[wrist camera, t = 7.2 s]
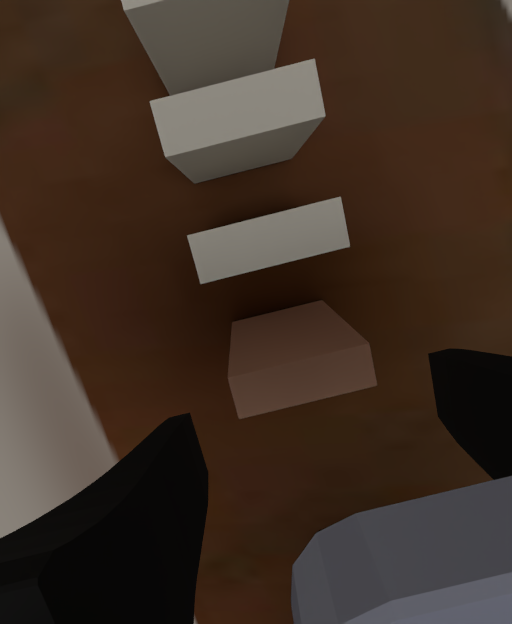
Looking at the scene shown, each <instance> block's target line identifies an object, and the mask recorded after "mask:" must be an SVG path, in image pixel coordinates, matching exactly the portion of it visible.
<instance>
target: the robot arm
mask: <svg viewBox="0 0 512 624" xmlns="http://www.w3.org/2000/svg"><path fill="white" fill-rule="evenodd" d="M428 355H429V362H430V368H431V375H432V381H433V387H434V394H435V400H436V406H437V413H438V417H439V418H440V420H441V421H442V423H443V424H444V425H445V427H446V428H447V430H448V431H449V432H450V434H451V435H452V436H453V438H454V439H455V440H456V442H457V443H458V444H459V445H460V446H461V447H462V448H463V449H464V450H465V451H466V452H467V453H468V454H469V455H470V456H471V457H472V458H473V459H474V460H475V461H476V462H477V463H478V464H479V465H480V466H481V467H482V468H483V469H484V470H485V471H486V472H487V473H488V474H489V475H490V476H491V477H492V478H493V479H494V480H492V481H488V482H484V483H480V484H476V485H472V486H467V487H463V488H459V489H455V490H451V491H447V492H443V493H438V494H434V495H430V496H426V497H422V498H418V499H414V500H409V501H405V502H401V503H397V504H393V505H389V506H384V507H380V508H376V509H372V510H368V511H364V512H360V513H355V514H353V515H351V516H349V517H347V518H345V519H343V520H341V521H339V522H337V523H335V524H333V525H331V526H329V527H327V528H325V529H323V530H321V531H319V532H317V533H316V534H315V535H314V537H313V538H312V539H311V541H310V542H309V544H308V545H307V546H306V548H305V549H304V550H303V552H302V553H301V555H300V556H299V557H298V559H297V560H296V561H295V563H294V564H293V567H292V588H291V606H292V613H293V620H294V624H512V357H510V356H504V355H498V354H492V353H485V352H479V351H472V350H464V349H446V350H442V351H438V352H434V353H430V354H428ZM207 507H208V470H207V467H206V464H205V460H204V457H203V454H202V451H201V448H200V444H199V441H198V438H197V435H196V431H195V428H194V425H193V422H192V419H191V415H190V413H186V414H182V415H178V416H174V417H170V418H168V419H167V420H165V421H164V422H163V423H162V424H160V425H159V426H158V427H157V428H156V429H155V430H154V431H153V432H152V433H151V434H149V435H148V436H147V437H146V438H145V439H144V440H143V441H142V442H141V443H140V444H139V445H138V446H136V447H135V448H134V449H133V450H132V451H131V452H130V453H129V454H128V455H126V456H125V457H124V458H123V459H122V460H120V461H119V462H118V463H117V464H116V465H115V466H113V467H112V468H111V469H110V470H109V471H108V472H106V473H105V474H104V475H103V476H102V477H100V478H99V479H98V480H96V481H95V482H94V483H92V484H91V485H89V486H88V487H86V488H85V489H84V490H82V491H81V492H79V493H78V494H76V495H75V496H73V497H72V498H71V499H69V500H67V501H66V502H64V503H62V504H61V505H59V506H57V507H56V508H54V509H53V510H51V511H49V512H48V513H46V514H44V515H43V516H41V517H39V518H38V519H36V520H34V521H33V522H31V523H29V524H27V525H25V526H23V527H21V528H20V529H18V530H16V531H14V532H12V533H10V534H8V535H6V536H5V537H3V538H0V624H193V623H194V603H195V590H196V581H197V574H198V567H199V561H200V554H201V548H202V541H203V535H204V528H205V521H206V514H207Z"/></svg>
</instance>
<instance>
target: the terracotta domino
mask: <svg viewBox="0 0 512 624" xmlns="http://www.w3.org/2000/svg"><path fill="white" fill-rule="evenodd" d="M228 381H229V385H230V388H231V392H232V396H233V399H234V403H235V406H236V410H237V414H238V417H239V419H242V418H246V417H250V416H254V415H259V414H263V413H267V412H271V411H275V410H279V409H283V408H287V407H292V406H296V405H300V404H304V403H308V402H312V401H316V400H320V399H324V398H329V397H333V396H337V395H341V394H345V393H349V392H353V391H357V390H362V389H366V388H370V387H374V386H377V382H376V376H375V371H374V366H373V360H372V355H371V350H370V344H369V343H368V342H367V341H366V340H365V339H364V338H363V337H362V336H361V335H360V334H359V333H358V332H356V331H355V330H354V329H353V328H352V327H351V326H350V325H349V324H348V323H347V322H346V321H344V320H343V319H342V318H341V317H340V316H339V315H338V314H337V313H336V312H335V311H334V310H332V309H331V308H330V307H329V306H328V305H327V304H326V303H325V302H324V301H323V300H320V301H316V302H312V303H308V304H304V305H300V306H295V307H291V308H287V309H283V310H279V311H275V312H271V313H267V314H263V315H259V316H255V317H251V318H247V319H243V320H239V321H235V322H232V329H231V342H230V354H229V367H228Z"/></svg>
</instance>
